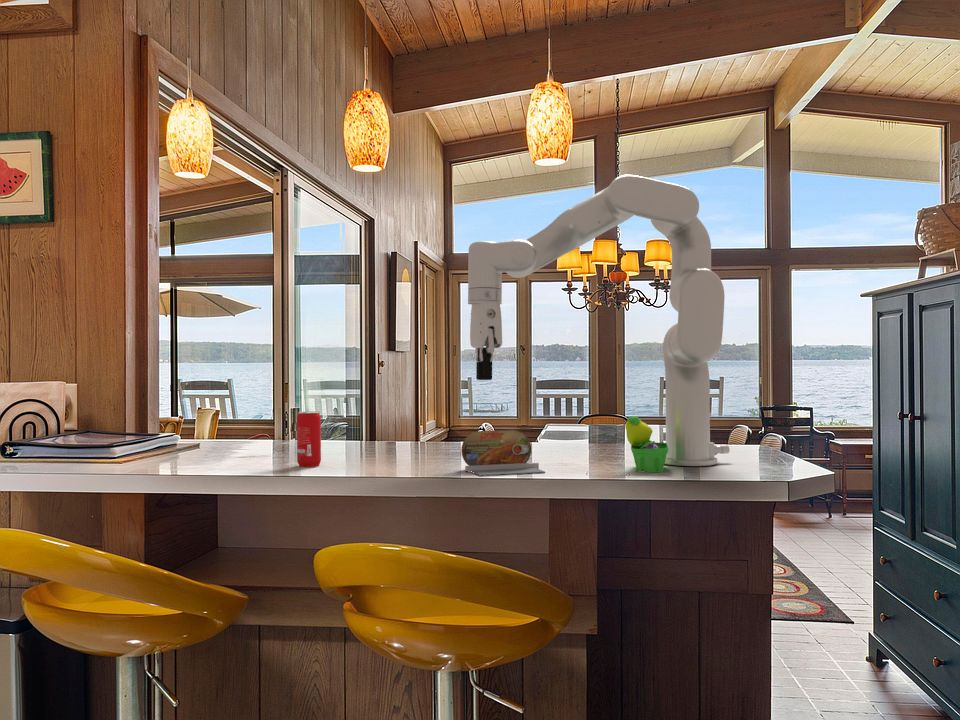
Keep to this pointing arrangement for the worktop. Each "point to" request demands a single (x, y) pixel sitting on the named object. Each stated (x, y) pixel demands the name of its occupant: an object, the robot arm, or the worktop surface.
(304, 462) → the beverage can
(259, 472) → the worktop surface
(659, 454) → the fruit basket
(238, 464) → the worktop surface
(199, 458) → the worktop surface
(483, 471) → the mat
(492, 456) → the tin
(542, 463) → the worktop surface
